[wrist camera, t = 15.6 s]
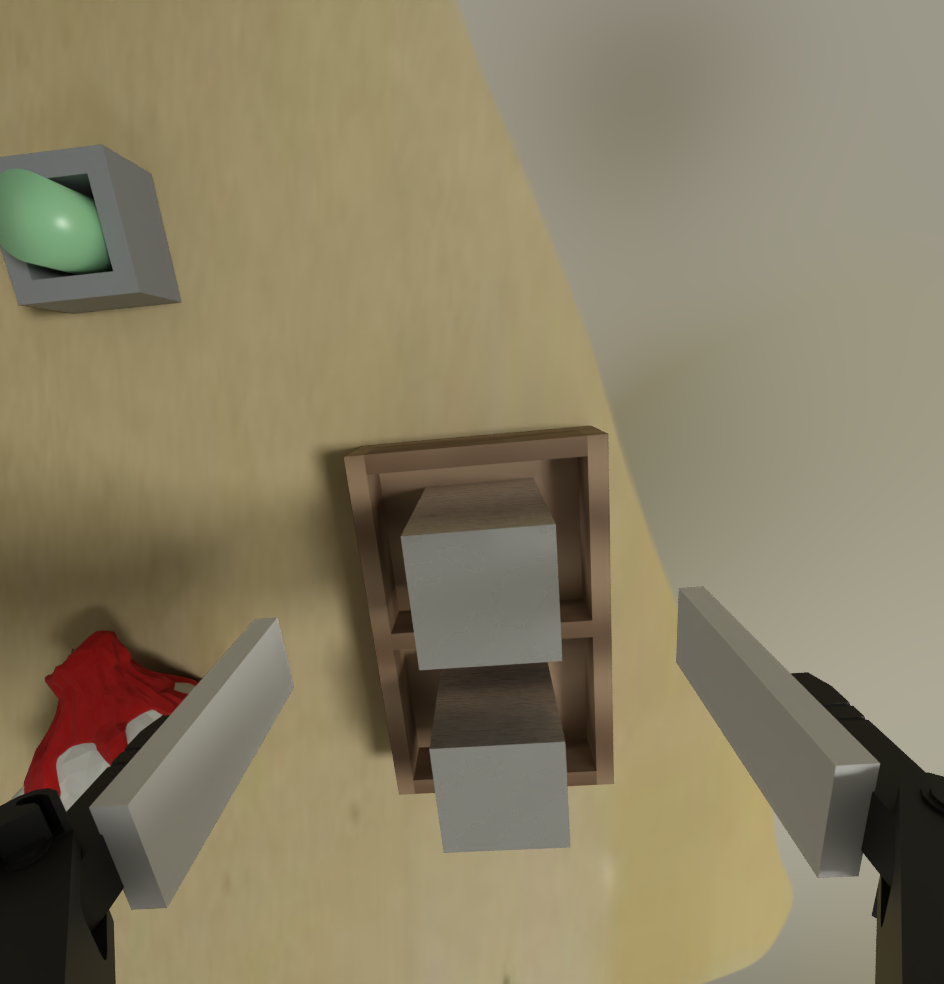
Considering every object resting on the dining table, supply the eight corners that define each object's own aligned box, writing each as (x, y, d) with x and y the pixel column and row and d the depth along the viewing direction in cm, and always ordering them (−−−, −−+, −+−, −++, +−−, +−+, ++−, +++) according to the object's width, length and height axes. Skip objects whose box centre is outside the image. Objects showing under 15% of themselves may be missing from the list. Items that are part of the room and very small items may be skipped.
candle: (156, 820, 33) (66, 632, 31) (295, 781, 31) (209, 583, 30) (23, 967, 24) (-111, 714, 22) (211, 922, 22) (82, 650, 21)
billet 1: (426, 486, 25) (400, 536, 18) (533, 477, 25) (555, 524, 17) (438, 584, 27) (419, 670, 19) (539, 577, 26) (562, 660, 19)
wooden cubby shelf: (362, 446, 26) (343, 456, 22) (591, 425, 25) (608, 433, 22) (408, 748, 31) (398, 794, 28) (599, 738, 30) (613, 783, 27)
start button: (49, 204, 22) (-29, 174, 19) (119, 196, 22) (53, 164, 19) (72, 283, 23) (1, 268, 20) (140, 276, 23) (80, 259, 20)
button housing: (37, 187, 23) (-28, 160, 20) (151, 173, 23) (102, 144, 20) (73, 313, 24) (18, 305, 22) (181, 302, 24) (139, 292, 21)
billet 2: (444, 644, 28) (429, 749, 20) (542, 638, 28) (565, 741, 20) (454, 726, 29) (443, 852, 22) (547, 721, 29) (570, 847, 21)
